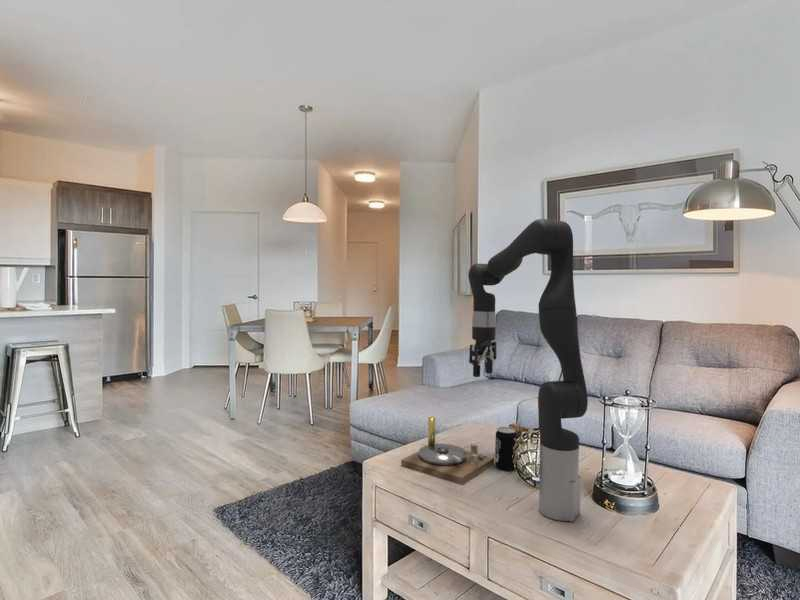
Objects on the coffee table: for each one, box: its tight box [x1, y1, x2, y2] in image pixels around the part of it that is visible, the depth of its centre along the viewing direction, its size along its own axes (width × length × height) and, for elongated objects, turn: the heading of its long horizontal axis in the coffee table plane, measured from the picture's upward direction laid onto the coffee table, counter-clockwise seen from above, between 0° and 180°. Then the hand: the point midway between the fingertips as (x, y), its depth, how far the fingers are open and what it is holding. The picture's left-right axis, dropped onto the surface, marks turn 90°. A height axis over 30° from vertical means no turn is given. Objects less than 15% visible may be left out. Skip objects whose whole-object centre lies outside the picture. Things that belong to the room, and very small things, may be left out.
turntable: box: [400, 442, 495, 486], centre depth 149 cm, size 22×20×5 cm
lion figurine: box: [508, 422, 528, 439], centre depth 163 cm, size 15×5×9 cm, turn 70°
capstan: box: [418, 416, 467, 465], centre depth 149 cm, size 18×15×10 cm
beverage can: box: [494, 426, 518, 472], centre depth 148 cm, size 7×7×12 cm
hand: (482, 374), depth 153 cm, fingers open, 8 cm apart
